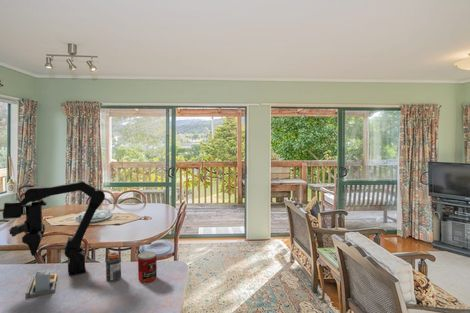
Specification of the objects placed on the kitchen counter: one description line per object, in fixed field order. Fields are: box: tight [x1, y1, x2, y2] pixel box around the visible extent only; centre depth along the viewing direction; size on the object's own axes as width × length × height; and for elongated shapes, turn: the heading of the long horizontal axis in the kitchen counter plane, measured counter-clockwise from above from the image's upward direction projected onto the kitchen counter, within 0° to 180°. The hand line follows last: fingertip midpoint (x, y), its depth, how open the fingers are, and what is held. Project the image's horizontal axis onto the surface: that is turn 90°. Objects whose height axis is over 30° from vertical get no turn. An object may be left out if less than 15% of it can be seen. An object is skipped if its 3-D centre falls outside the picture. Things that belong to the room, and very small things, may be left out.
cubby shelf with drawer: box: [25, 273, 58, 299], centre depth 119 cm, size 9×16×2 cm, turn 28°
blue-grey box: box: [34, 269, 51, 293], centre depth 116 cm, size 4×4×8 cm
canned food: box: [137, 250, 158, 284], centre depth 126 cm, size 8×8×11 cm
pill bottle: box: [105, 251, 122, 283], centre depth 126 cm, size 6×6×11 cm
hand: (35, 251), depth 125 cm, fingers open, 9 cm apart
